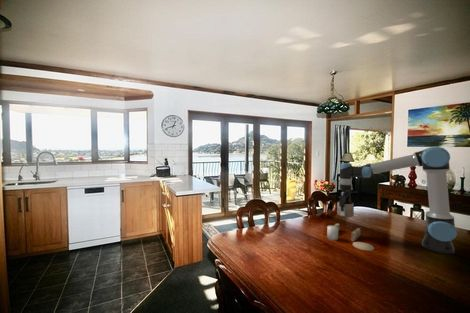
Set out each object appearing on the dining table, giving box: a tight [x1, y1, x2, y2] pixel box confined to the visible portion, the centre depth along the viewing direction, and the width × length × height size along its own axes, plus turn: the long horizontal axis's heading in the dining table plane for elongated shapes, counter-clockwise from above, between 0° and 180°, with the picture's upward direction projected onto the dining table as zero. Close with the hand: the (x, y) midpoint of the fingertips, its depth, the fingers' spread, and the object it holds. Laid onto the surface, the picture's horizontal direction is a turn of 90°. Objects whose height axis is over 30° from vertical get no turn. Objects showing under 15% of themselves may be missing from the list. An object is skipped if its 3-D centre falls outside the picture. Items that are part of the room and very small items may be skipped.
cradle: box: [332, 222, 361, 242], centre depth 156 cm, size 16×14×5 cm
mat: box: [352, 241, 375, 252], centre depth 137 cm, size 12×12×1 cm
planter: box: [336, 200, 355, 218], centre depth 156 cm, size 11×11×10 cm
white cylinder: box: [326, 225, 339, 241], centre depth 150 cm, size 7×7×8 cm
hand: (345, 213), depth 156 cm, fingers closed on planter, 11 cm apart
